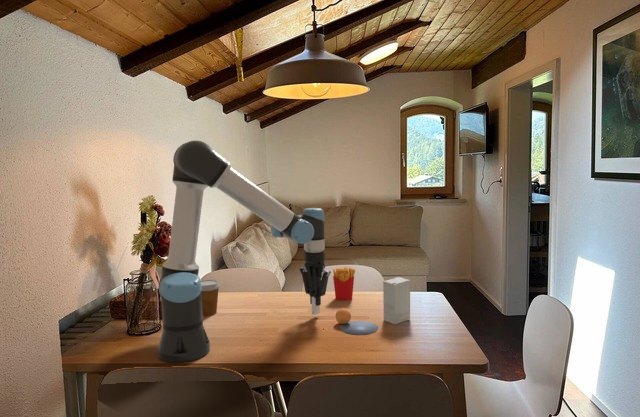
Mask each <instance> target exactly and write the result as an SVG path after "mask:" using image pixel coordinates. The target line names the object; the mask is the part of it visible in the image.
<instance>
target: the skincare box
mask: <svg viewBox="0 0 640 417" xmlns="http://www.w3.org/2000/svg"><path fill="white" fill-rule="evenodd" d="M382 284H383V285H382V286H383V293H382V294H383V300H382V301H383V321H385V322H387V323H390V324H393V325H397V324H401V323H403V322H406V321H409V320H411V280H410V279H407V278H403V277H400V276H396V277H394V278H391V279H387V280H386V279H385V280H383V283H382Z"/></svg>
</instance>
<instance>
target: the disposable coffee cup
mask: <svg viewBox="0 0 640 417" xmlns="http://www.w3.org/2000/svg"><path fill="white" fill-rule="evenodd" d="M201 285H202V291H201V294H202V315H204V316H205V317H206V316H208V315H209V316H212V315H215V314H217V311H218V300H219V290H220V289H219V288H220V286H221V285H220V282H219V280H217V279H203V280H201Z"/></svg>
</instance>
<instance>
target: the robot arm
mask: <svg viewBox="0 0 640 417" xmlns="http://www.w3.org/2000/svg"><path fill="white" fill-rule="evenodd" d="M172 161H173V169H172V170H173V171H172V183H173V184H174V185H175V187H176V188H175V189H176V190H175V198H174V205H173V213H172V214H173V216H172V222H171V231H170V240H169V247H168V248H169V249H168V257H167V260H166V261H164V262H163V263H162V265H161V266H162V267H161V274H160V275H161V276H160V279H159V282H158V293H159V295H160V302H161V315H162V316H161V318H162V332H161V336H160V339H159V340H160V341H159V345H158V347H157V355H158V358H159V359H160V360H161V361H163V362H167V363H184V362H185V363H186V362H190V361H196V360H199V359H201V358H202V357H205V356H206V355H207V354H209V353H210V350H211V345H210V344H211V343H210V340H209V337H208V335H207V332H206V330H205V328H204V321H203V320H204V318H203V315H202V294H201V291H202V285H201V281H202V280H201V278H200V277H199V271H200V266H199V265H198V264H197V262H196V256H197V249H198V248H197V247H198V240H199V231H200V224H201V214H202V205H203V199H204V198H203V197H204V190H206V188H208V187H210V188H211V189H212V188H217V189H218V190H219V191H221V192H222V193H224V194H225V195H226V196H228V197H230V198H231V199H232V200H234V201H235V202H237V203H239V204H240V205H241V206H243V207H244V208H246V209H247V210H249V211H250V212H252V213H253V214H254V215H256V216H257V217H259V218H260V219H262V220H263V221H265V222H266V223H267V224H269V226H270V232H271V235H272V237H273V238H287V239H289V240H292V241H293V242H295V243H296V244H302V245H303V250H304V253H303V258H304V262H305V263H304V266H302V267H300V268H299V271H300V273H301V278H302V281H303V282H302V283H303V286H304V287H303V288H304V292H305V294H306V295H309V297H310V298H309V301H310V305H311V315H313V316H316V315H318V314H320V306H321V304H322V298H321V297H323V296H325V295H326V292H327V286H328V281H329V277H330V274H331V270H328V269H327V268H326V265H325V261H326V252H325V251H324V250H325V249H326V248H325V245H326V244H325V221H326V220H325V211H324V209H322V208H320V207H308V208H307V207H306V208H303V210H302V211H303V212H302V214H296V213H295V212H294V211H292V210H291V209H289V208H288V207H286V206H285V205H284V204H282V203H281V202H280V201H279V200H277V199H275V198H274V197H273V196H271V195H270V194H268V193H267V192H265V190H263V189H262V188H260V187H259V186H257V185H256V184H254V182H252V181H251V180H249V179H247V178H246V177H245V176H243V175H242V174H241V173H239V172H238V170H237V171H236V170H235V169H234V168H233V167H232V166H231V163H230V162H231V161H229V160H228V159H225V157H223V156H222V155H221V154H220V153H218V152H217V151H216V150H215V149H214V148H213V147H212V146H210V145H209V144H208V143H206V142H204V141H202V140H190V141H187V142H184V143H183V144H181V145H180V146H179V147H178V148H176V150H175V152H174V154H173V160H172Z"/></svg>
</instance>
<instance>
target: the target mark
mask: <svg viewBox="0 0 640 417" xmlns="http://www.w3.org/2000/svg"><path fill="white" fill-rule="evenodd" d="M339 328H340V331H342V332H343V333H345V334H349V335H356V336H365V335H370V334H374V333H376V332H377V331H378V330H379V326H378V325H377V324H376V323H374V322H371V321H367V320H352V321H351V320H350V321H349V322H348V323H347V324H340V326H339Z"/></svg>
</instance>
